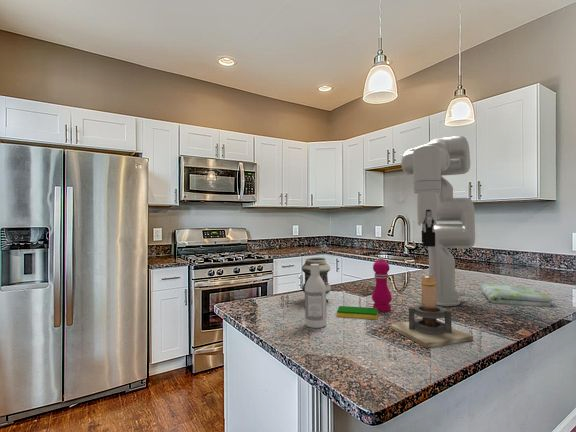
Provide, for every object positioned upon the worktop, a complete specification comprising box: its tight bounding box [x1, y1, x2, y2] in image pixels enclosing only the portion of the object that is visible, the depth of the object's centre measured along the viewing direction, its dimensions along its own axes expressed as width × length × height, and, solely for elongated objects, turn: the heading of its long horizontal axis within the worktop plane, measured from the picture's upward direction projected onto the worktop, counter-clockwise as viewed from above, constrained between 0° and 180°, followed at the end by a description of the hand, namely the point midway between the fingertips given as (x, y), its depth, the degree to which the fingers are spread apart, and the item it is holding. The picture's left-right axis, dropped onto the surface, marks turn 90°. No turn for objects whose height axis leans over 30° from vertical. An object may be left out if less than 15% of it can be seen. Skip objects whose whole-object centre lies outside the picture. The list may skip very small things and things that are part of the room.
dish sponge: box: [336, 305, 379, 320], centre depth 117 cm, size 7×14×2 cm, turn 73°
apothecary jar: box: [301, 257, 332, 304], centre depth 136 cm, size 12×12×18 cm
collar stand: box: [390, 304, 474, 349], centre depth 97 cm, size 16×16×8 cm
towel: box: [479, 282, 553, 308], centre depth 134 cm, size 18×21×5 cm
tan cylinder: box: [420, 274, 438, 327], centre depth 97 cm, size 4×4×16 cm
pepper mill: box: [371, 256, 393, 312], centre depth 123 cm, size 7×7×20 cm
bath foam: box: [304, 264, 327, 329], centre depth 107 cm, size 7×7×20 cm
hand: (428, 244), depth 97 cm, fingers open, 9 cm apart
